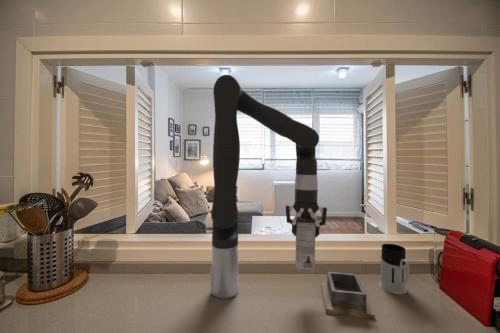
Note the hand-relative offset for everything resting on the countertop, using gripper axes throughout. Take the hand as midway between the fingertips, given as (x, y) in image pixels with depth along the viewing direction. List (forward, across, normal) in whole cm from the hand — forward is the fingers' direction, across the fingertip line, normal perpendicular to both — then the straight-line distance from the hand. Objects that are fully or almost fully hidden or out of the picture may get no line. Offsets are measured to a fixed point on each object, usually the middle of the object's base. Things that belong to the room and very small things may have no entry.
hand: (305, 235), depth 82 cm
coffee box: (+10, 0, 0) cm, 10 cm away
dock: (+21, +13, 0) cm, 25 cm away
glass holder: (+21, +32, +9) cm, 40 cm away
